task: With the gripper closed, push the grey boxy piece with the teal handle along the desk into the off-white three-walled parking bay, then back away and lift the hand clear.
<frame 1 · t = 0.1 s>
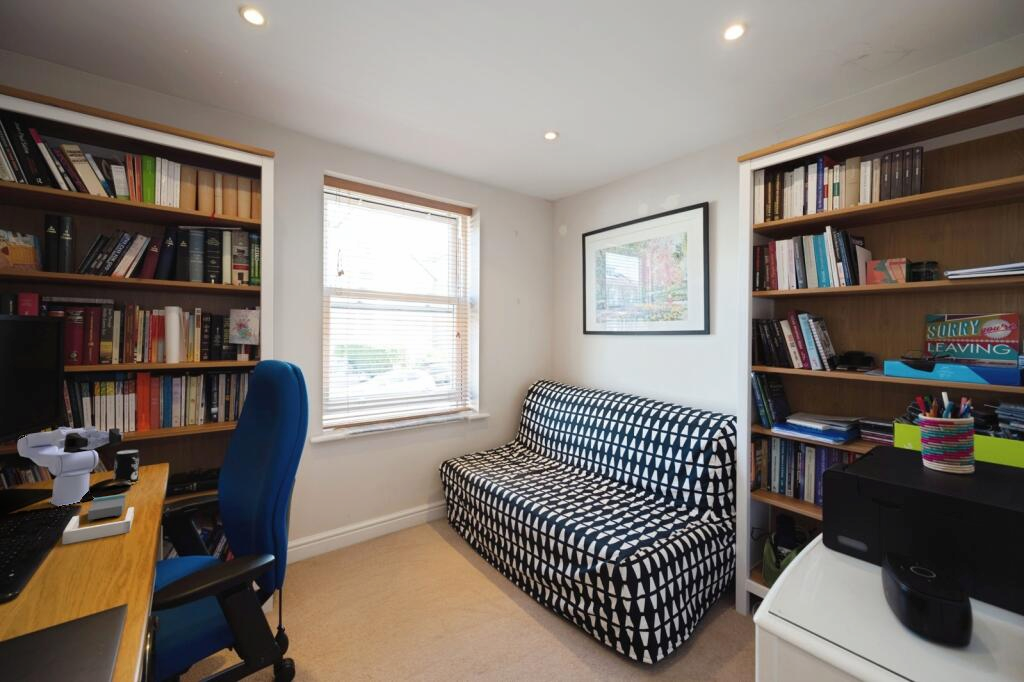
hand: (103, 440, 124), 22 cm above the table, tool horizontal, fingers open, 7 cm apart
parking bay: (101, 528, 112), on the table
beverage can: (125, 485, 149), on the table
grey boxy piece: (107, 514, 122), on the table
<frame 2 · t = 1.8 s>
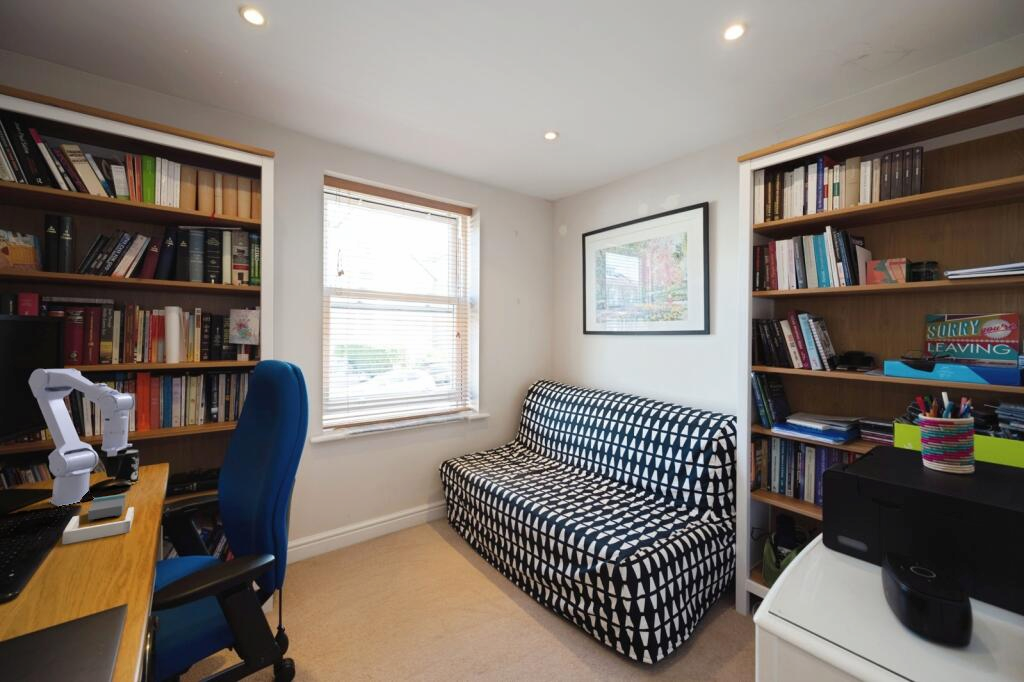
hand: (113, 474, 130), 9 cm above the table, tool pointing down, fingers open, 5 cm apart
nothing on the table moved.
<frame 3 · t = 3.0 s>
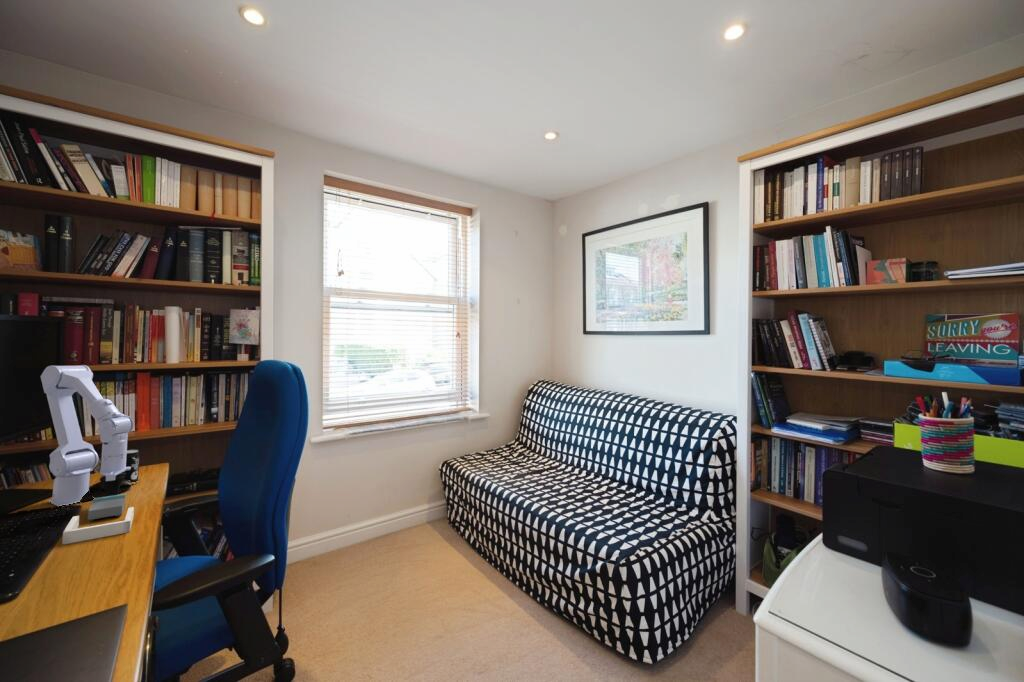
hand: (111, 498, 129), 2 cm above the table, tool pointing down, fingers closed
nothing on the table moved.
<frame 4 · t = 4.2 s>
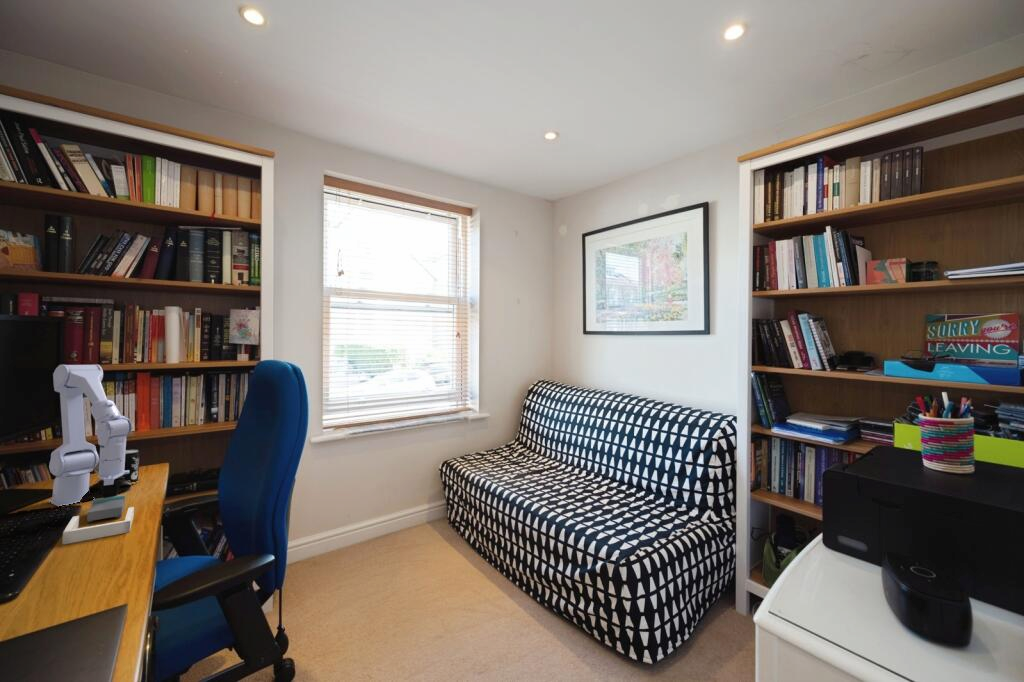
hand: (109, 503, 126), 2 cm above the table, tool pointing down, fingers closed
grey boxy piece: (106, 515, 121), on the table, touching gripper
everything else where it was.
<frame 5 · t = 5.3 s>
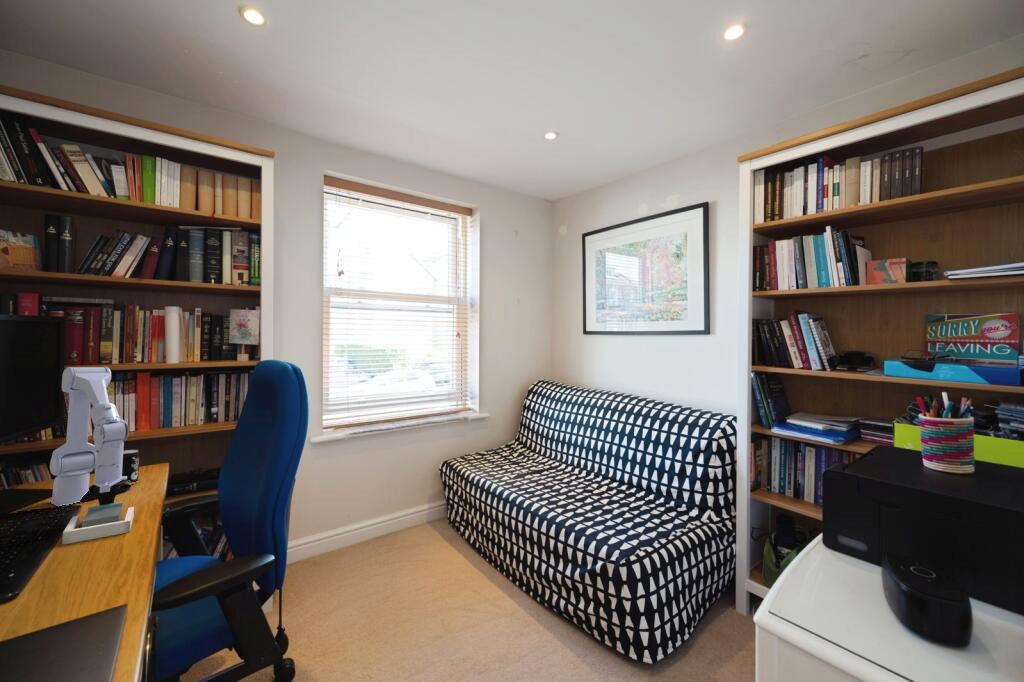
hand: (106, 510, 120), 2 cm above the table, tool pointing down, fingers closed
grey boxy piece: (102, 524, 115), on the table, touching gripper
everything else where it was.
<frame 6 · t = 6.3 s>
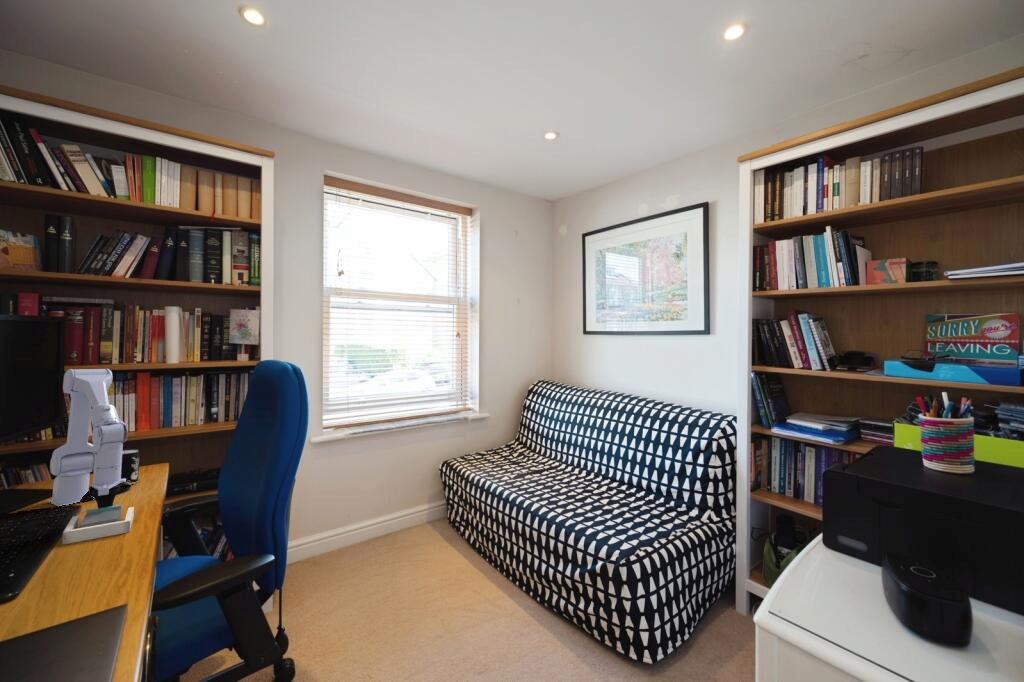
hand: (105, 513, 118), 2 cm above the table, tool pointing down, fingers closed
grey boxy piece: (101, 527, 113), on the table, touching gripper
everything else where it was.
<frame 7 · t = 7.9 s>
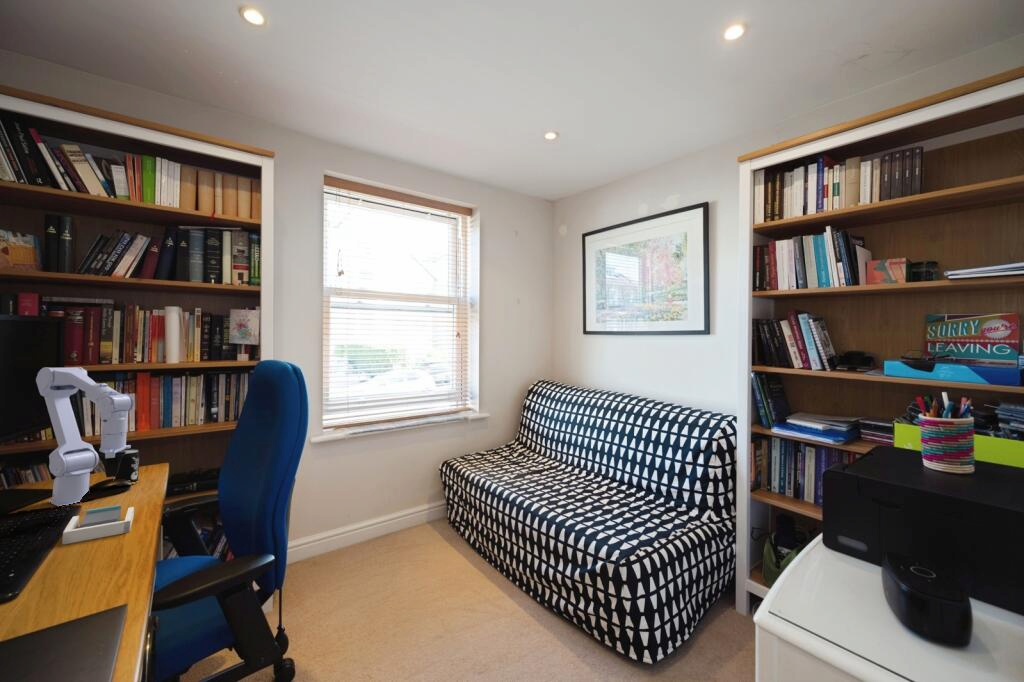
hand: (111, 476, 128), 9 cm above the table, tool pointing down, fingers closed
grey boxy piece: (101, 527, 113), on the table
everything else where it was.
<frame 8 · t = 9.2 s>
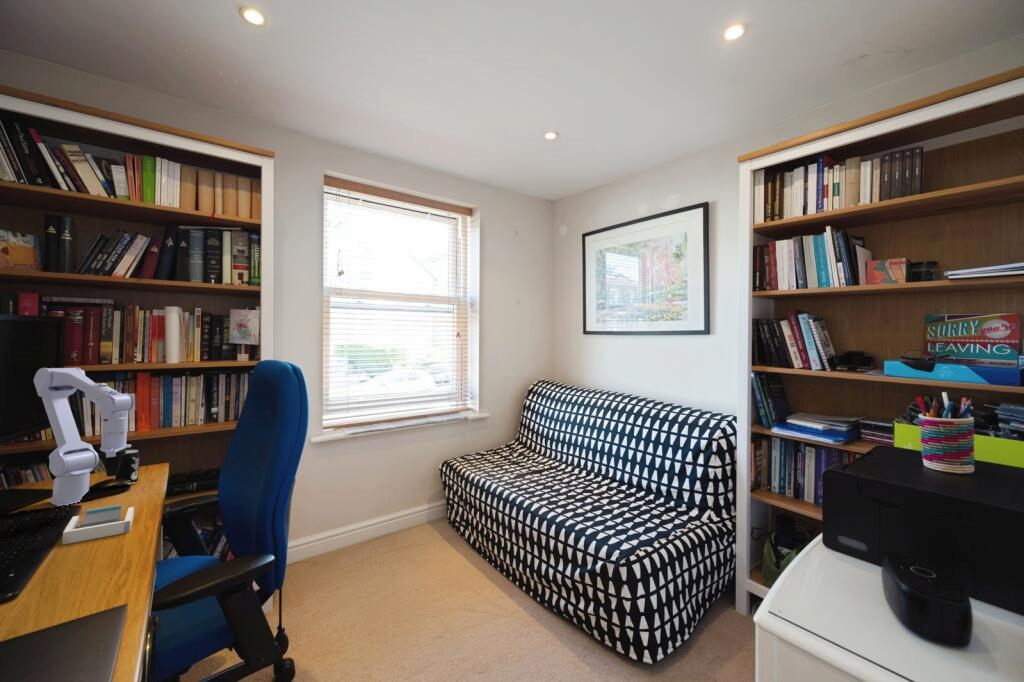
hand: (112, 475, 129), 9 cm above the table, tool pointing down, fingers closed
nothing on the table moved.
at the end: grey boxy piece 0.4 cm from the parking bay (horizontally); grey boxy piece tilted 0°; the gripper is holding nothing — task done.
